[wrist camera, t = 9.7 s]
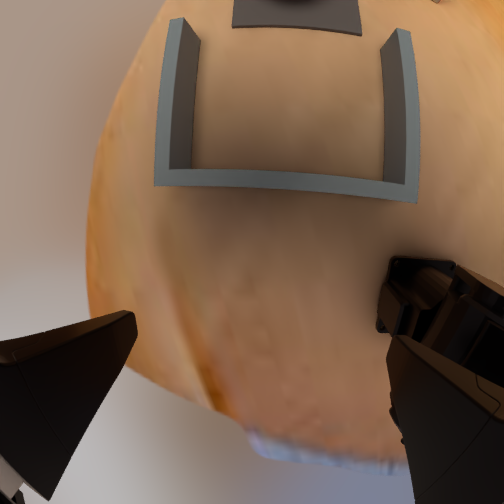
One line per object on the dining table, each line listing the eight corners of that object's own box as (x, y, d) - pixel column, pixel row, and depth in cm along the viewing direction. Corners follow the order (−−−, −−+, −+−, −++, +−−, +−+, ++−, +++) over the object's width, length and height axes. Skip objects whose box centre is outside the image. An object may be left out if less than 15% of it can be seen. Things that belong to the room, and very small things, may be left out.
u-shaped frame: (391, 52, 15) (409, 31, 11) (393, 198, 18) (417, 203, 14) (188, 42, 16) (170, 19, 13) (178, 184, 20) (154, 186, 16)
